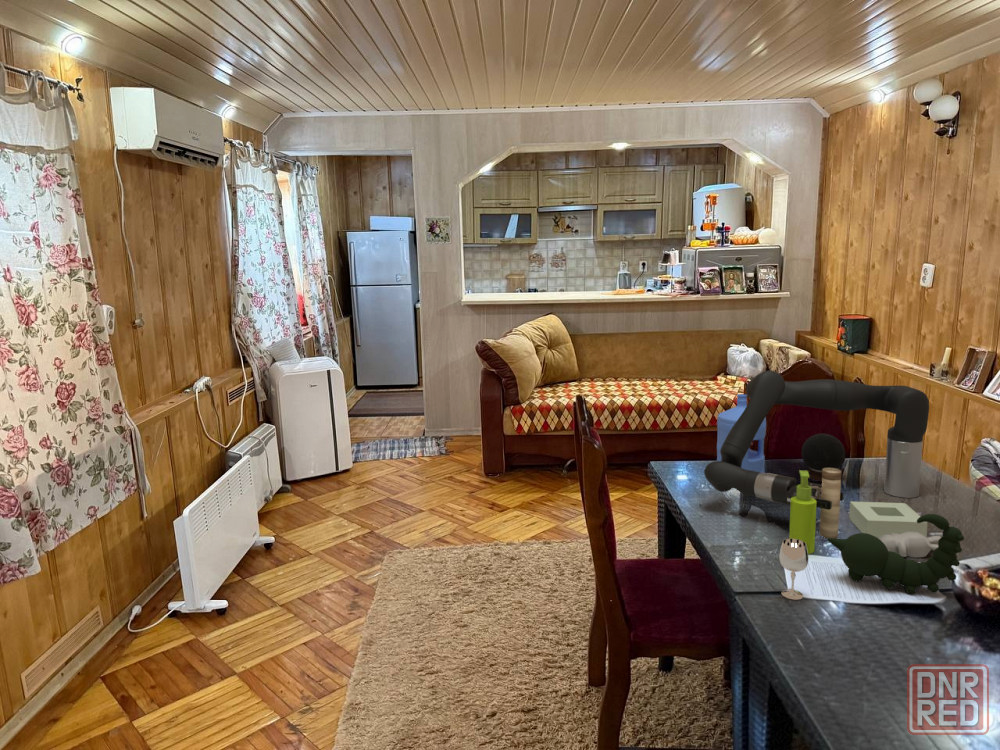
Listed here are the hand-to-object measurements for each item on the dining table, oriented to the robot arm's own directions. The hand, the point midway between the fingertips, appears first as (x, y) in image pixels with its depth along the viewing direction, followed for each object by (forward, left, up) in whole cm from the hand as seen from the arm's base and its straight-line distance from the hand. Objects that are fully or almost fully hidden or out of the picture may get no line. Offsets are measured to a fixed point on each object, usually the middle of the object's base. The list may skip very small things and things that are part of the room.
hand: (837, 501), depth 171 cm
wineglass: (+33, -18, -10) cm, 39 cm away
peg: (-1, -1, -10) cm, 10 cm away
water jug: (-52, -15, -10) cm, 55 cm away
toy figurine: (+26, +4, -10) cm, 28 cm away
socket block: (-7, +15, -10) cm, 19 cm away
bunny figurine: (+8, +15, -10) cm, 20 cm away
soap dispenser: (+8, -10, -10) cm, 17 cm away
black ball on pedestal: (-51, +11, -10) cm, 53 cm away
